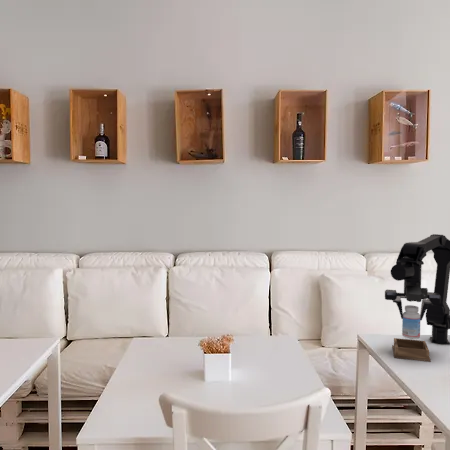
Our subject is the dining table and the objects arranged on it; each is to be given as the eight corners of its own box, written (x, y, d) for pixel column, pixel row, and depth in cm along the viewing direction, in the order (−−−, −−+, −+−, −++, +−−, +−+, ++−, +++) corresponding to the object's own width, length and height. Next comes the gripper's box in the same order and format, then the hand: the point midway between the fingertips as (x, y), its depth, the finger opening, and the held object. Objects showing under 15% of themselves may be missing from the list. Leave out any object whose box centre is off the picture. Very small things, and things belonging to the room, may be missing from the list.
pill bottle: (422, 339, 158) (423, 308, 157) (405, 339, 158) (406, 308, 158) (415, 334, 164) (416, 304, 164) (399, 334, 164) (400, 304, 164)
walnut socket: (392, 347, 169) (392, 337, 169) (426, 350, 165) (426, 340, 165) (394, 358, 158) (394, 347, 157) (430, 361, 154) (430, 351, 154)
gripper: (386, 279, 155) (385, 323, 156) (444, 283, 149) (442, 328, 150) (385, 274, 166) (384, 315, 167) (439, 277, 160) (437, 319, 161)
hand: (411, 319), depth 161 cm, fingers closed on pill bottle, 6 cm apart
